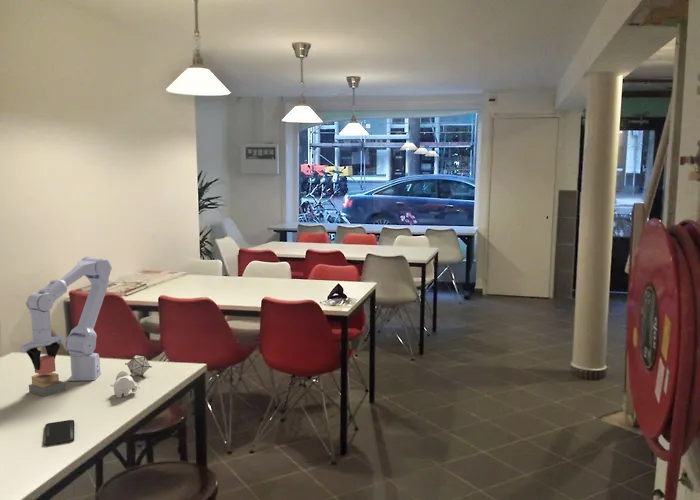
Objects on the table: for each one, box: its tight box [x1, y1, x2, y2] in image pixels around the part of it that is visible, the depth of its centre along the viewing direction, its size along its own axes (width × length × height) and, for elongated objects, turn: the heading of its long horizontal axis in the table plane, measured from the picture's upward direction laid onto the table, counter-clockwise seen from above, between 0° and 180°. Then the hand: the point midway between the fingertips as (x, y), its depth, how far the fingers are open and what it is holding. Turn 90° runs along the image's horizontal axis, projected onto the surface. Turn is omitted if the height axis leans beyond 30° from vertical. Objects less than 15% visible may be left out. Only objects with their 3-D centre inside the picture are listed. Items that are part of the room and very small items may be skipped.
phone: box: [43, 419, 75, 447], centre depth 180 cm, size 8×1×15 cm
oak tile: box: [31, 372, 60, 388], centre depth 213 cm, size 6×6×3 cm
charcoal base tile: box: [28, 380, 66, 397], centre depth 214 cm, size 8×8×3 cm
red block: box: [34, 354, 56, 375], centre depth 212 cm, size 5×5×5 cm
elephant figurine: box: [109, 370, 140, 398], centre depth 210 cm, size 8×10×7 cm
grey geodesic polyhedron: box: [124, 353, 153, 378], centre depth 229 cm, size 9×8×10 cm
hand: (44, 367), depth 212 cm, fingers closed on red block, 4 cm apart
